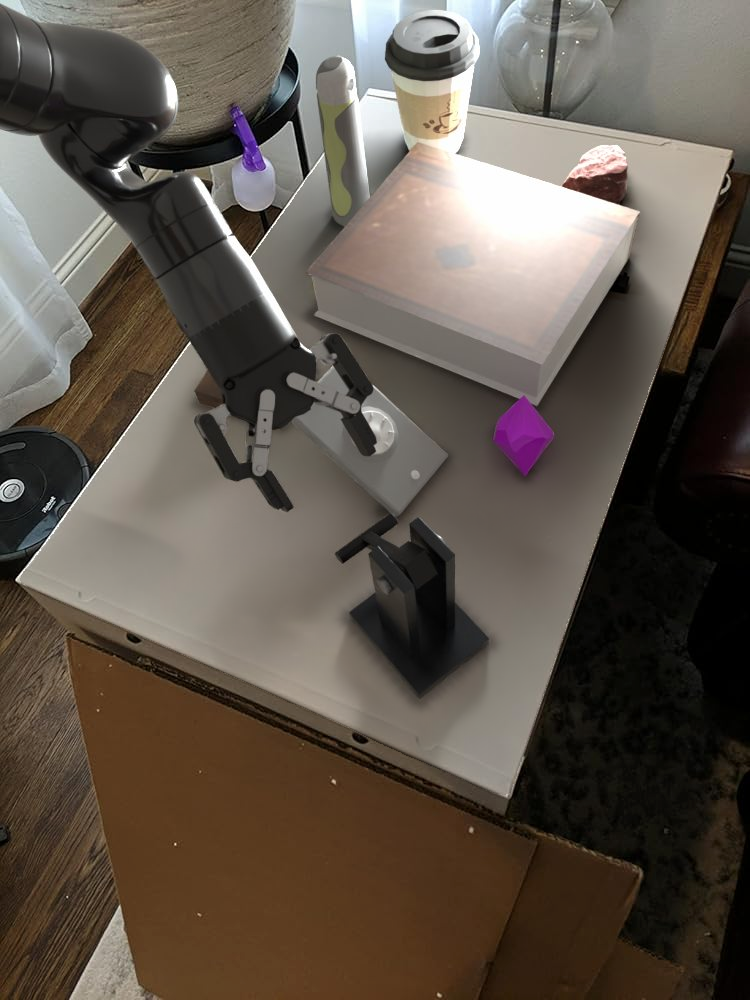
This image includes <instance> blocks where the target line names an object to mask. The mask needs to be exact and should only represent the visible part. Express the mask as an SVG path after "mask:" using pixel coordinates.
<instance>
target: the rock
mask: <svg viewBox="0 0 750 1000" xmlns="http://www.w3.org/2000/svg"><path fill="white" fill-rule="evenodd" d="M625 155H626V153H625V151H624V150H622V148H621V147H620V146H619V145H617V144H614V145H607V144H605V145H604V144H602V145H599V146H596V147H594V148H592V149H590V150H588V151H587V152H585V153H584V154H582V156H581V157H580V159H579V160H578V164H577V166H575V167H574V168H573V169H572V170H571V171H570V172H569V173H568V176H566V178H565V180H564V181H563V182H562V185H561V187H563V188H566V189H569V190H573V191H576V192H579V193H582V194H585V195H589V196H592V197H595V198H598V199H602V200H605V201H608V202H611V203H614V204H618V205H620V203H621V201H622V200H624V198H625V196H626V193H627V190H628V186H627V181H628V179H629V178H628V177H629V165H628V159H627V157H626V156H625Z"/></svg>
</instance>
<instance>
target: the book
mask: <svg viewBox="0 0 750 1000" xmlns="http://www.w3.org/2000/svg"><path fill="white" fill-rule="evenodd" d="M640 213H641V211H640V210H636V209H633V208H631V207H627V206H624V205H620V204H619V205H618V204H614V203H611V202H608V201H605V200H602V199H598V198H595V197H592V196H589V195H585V194H582V193H579V192H576V191H573V190H569V189H566V188H563V187H562V186H561V185H556V184H553V183H551V182H547V181H544V180H540V179H537V178H534V177H530V176H527V175H524V174H521V173H518V172H515V171H512V170H508V169H505V168H502V167H499V166H496V165H492V164H490V163H486V162H483V161H479V160H477V159H473V158H470V157H466V156H464V155H461V154H457V153H455V154H454V153H451V152H448V151H444V150H441V149H438V148H435V147H432V146H428V145H425V144H422V143H419V142H417V143H416V144H415V145H414V147H413V148H412V149H411V150H410V151H409V150H408V152H407V153H406V155H405V156H404V157H402V159H401V161H400V162H399V163H398V164H397V165H396V166H395V167H394V168H393V170H392V171H391V172H390V173H389V174H388V175H387V177H386V178H385V179H384V180H383V181H382V183H381V184H380V185H379V186H378V187H377V189H376V190H375V191H374V192H373V193H372V194H371V195H370V198H369V199H368V200H367V201H366V203H365V204H364V205H363V206H362V207H361V208H360V210H359V211H358V212H357V213H356V214H355V215H354V217H353V218H352V219H351V220H350V221H349V223H348V224H347V225H346V226H343V228H342V229H341V230H340V232H339V233H338V234H337V235H336V236H335V238H334V239H332V241H331V242H330V244H328V246H327V247H326V248H325V249H324V251H322V253H321V254H320V255H319V256H318V257H317V259H316V260H315V261H314V262H313V263H312V265H311V266H310V267H309V268H308V269H307V270H306V272H305V273H306V274H307V275H310V276H311V279H312V283H313V288H314V294H315V299H316V304H317V309H318V310H317V311H316V312H315V313H314V314H313V316H314V317H318V318H319V319H322V320H325V321H327V322H329V323H332V324H334V325H337V326H339V327H342V328H344V329H347V330H349V331H351V332H353V333H356V334H359V335H361V336H364V337H366V338H368V339H371V340H374V341H376V342H378V343H381V344H383V345H386V346H388V347H390V348H394V349H395V350H398V351H400V352H402V353H405V354H407V355H410V356H413V357H416V358H417V359H420V360H423V361H425V362H428V363H430V364H433V365H435V366H437V367H440V368H443V369H445V370H447V371H450V372H452V373H455V374H457V375H460V376H461V377H464V378H467V379H470V380H472V381H474V382H477V383H480V384H481V385H485V386H487V387H489V388H491V389H494V390H497V391H499V392H501V393H504V394H506V395H509V396H511V397H514V398H516V399H518V400H519V399H520V398H521V397H522V396H523V395H525V397H526V398H527V399H528V401H529V402H530V403H531V404H532V406H536V407H538V406H539V404H540V402H541V401H542V399H543V397H544V396H545V394H546V393H547V391H548V389H549V387H550V386H551V384H552V383H553V381H554V379H555V378H556V376H557V375H558V373H559V371H560V370H561V368H562V366H563V365H564V363H565V362H566V360H567V358H569V355H570V354H571V352H572V351H573V349H574V348H575V346H576V344H577V342H578V341H579V339H580V338H581V336H582V334H583V333H584V332H585V330H586V328H587V326H588V325H589V324H590V321H591V320H592V318H593V316H595V313H596V311H598V309H599V307H600V305H601V304H602V302H603V300H604V299H605V298H606V296H607V294H608V292H609V291H610V289H611V288H612V286H613V285H614V283H615V281H616V280H617V278H618V277H619V275H620V273H621V272H622V270H623V269H624V266H625V265H626V264H627V262H628V260H629V259H630V257H631V251H632V248H633V243H634V240H635V234H636V231H637V226H638V222H639V217H640Z"/></svg>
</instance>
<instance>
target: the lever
mask: <svg viewBox="0 0 750 1000" xmlns="http://www.w3.org/2000/svg"><path fill="white" fill-rule="evenodd" d="M398 525H399V521H398V519H397V517H396V516H394V515H393V514H392V513H390V512H389V513H388V514H386V515H385V516H384V517H382V518H381V519H379V520H378V521H377V522H375V523H374V524H372V525H371V526H370V527H368V528H367V529H366V530H364V531H362V532H361V533H360V534H358V535H357V536H356V537H354V538H353V539H352V540H350V541H349V542H347V543H346V544H345V545H344V546H342V547H340V548H339V549H338V550H336V551H335V552H334V556H335V558H336V559H337V561H338V562H339V563H340V564H341V565H344V564H345V563H347V562H348V561H350V560H351V559H353V558H354V557H356V555H358V554H359V553H360V552H362V551H363V550H365V549H368V550H370V551H372V550H373V549H375V548H376V547H377V546H378V547H379V548H380V549H381V550H382V551H383V552H384V553H385V554H386V555H387V556H388V557H389V559H390V560H391V561H392V562H393V563H394V564H395V565H396V566H397V567H398V568H399V569H400V570H401V572H402V573H403V574H404V575H405V576H406V577H407V578H408V579H409V580H410V581H411V582H412V584H413V585H414V586H415V589H416V590H417V589H418V588H420V587H421V586H422V585H424V584H425V583H426V582H428V581H429V580H430V579H432V578H433V577H434V576H436V575H437V574H438V572H437V570H436V568H435V566H434V564H433V562H432V560H431V558H430V556H429V554H428V552H427V550H426V549H424V548H422V547H420V546H418V545H416V544H414V543H412V542H411V541H410V540H407V541H406V542H404V543H402V545H400V546H398V545H396V544H394V543H392V542H391V541H389V540H387V539H385V538H384V537H383V536H384V535H386V534H387V533H388V532H389V531H391V530H392V529H394V528H395V527H396V526H398Z"/></svg>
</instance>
